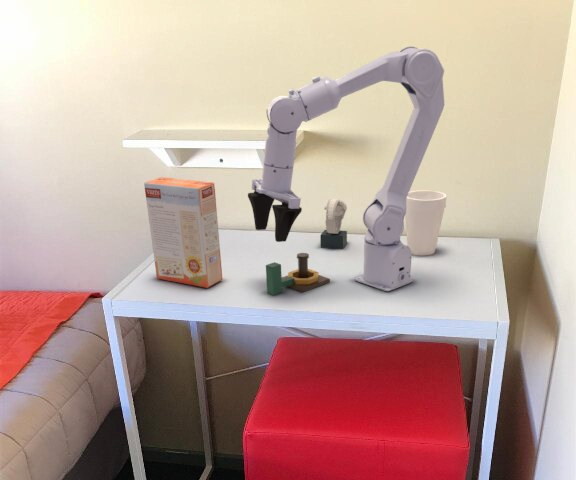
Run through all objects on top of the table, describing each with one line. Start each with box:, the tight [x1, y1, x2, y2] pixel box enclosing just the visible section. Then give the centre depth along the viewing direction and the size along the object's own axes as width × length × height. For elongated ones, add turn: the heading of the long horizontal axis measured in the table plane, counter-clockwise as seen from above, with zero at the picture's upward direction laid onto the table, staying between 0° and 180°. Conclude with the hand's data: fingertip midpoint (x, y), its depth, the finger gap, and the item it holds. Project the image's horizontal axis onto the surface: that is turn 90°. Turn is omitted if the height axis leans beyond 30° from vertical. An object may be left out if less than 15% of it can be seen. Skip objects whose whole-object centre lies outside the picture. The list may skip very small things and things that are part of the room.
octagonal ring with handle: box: [265, 262, 320, 296], centre depth 137 cm, size 12×6×6 cm, turn 131°
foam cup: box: [404, 189, 447, 256], centre depth 152 cm, size 10×9×13 cm
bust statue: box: [320, 198, 348, 250], centre depth 158 cm, size 6×8×11 cm
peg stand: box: [281, 252, 331, 293], centre depth 139 cm, size 8×8×6 cm
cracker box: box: [143, 176, 223, 289], centre depth 139 cm, size 14×6×21 cm, turn 59°
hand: (270, 235), depth 132 cm, fingers open, 7 cm apart
